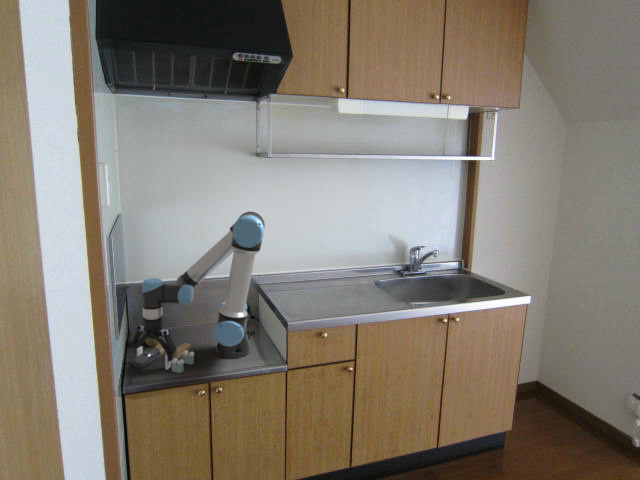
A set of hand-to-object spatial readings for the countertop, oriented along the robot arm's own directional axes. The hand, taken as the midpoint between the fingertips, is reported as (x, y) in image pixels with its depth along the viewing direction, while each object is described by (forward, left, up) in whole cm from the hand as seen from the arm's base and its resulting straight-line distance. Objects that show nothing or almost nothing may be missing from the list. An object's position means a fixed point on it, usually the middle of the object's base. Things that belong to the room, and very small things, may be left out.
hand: (154, 365), depth 184 cm
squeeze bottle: (+13, -17, 0) cm, 22 cm away
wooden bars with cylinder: (0, -12, 0) cm, 12 cm away
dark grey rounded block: (+1, -1, +2) cm, 3 cm away
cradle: (-12, -3, 0) cm, 12 cm away
